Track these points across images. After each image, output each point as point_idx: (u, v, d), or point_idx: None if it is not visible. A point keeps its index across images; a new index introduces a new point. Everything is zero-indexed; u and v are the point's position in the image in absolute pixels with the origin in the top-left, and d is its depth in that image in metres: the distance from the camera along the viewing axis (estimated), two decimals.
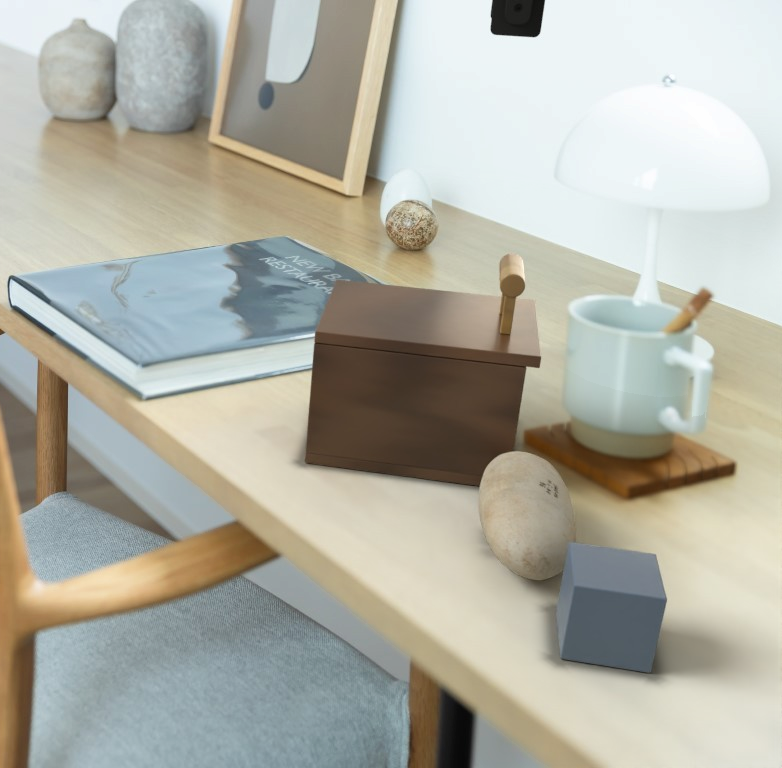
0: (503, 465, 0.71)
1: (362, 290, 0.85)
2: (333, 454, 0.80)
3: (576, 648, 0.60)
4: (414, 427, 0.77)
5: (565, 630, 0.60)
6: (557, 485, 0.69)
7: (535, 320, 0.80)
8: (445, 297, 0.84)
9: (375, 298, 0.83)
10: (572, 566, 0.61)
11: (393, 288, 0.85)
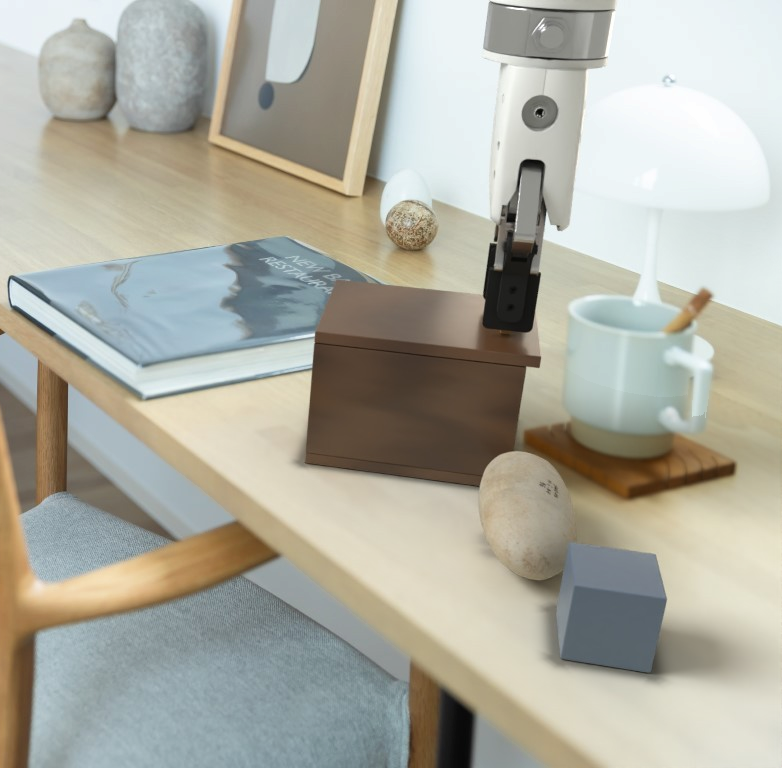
0: (503, 465, 0.71)
1: (362, 290, 0.85)
2: (333, 454, 0.80)
3: (576, 648, 0.60)
4: (414, 427, 0.77)
5: (565, 630, 0.60)
6: (557, 485, 0.69)
7: (535, 320, 0.80)
8: (445, 297, 0.84)
9: (375, 298, 0.83)
10: (572, 566, 0.61)
11: (393, 288, 0.85)
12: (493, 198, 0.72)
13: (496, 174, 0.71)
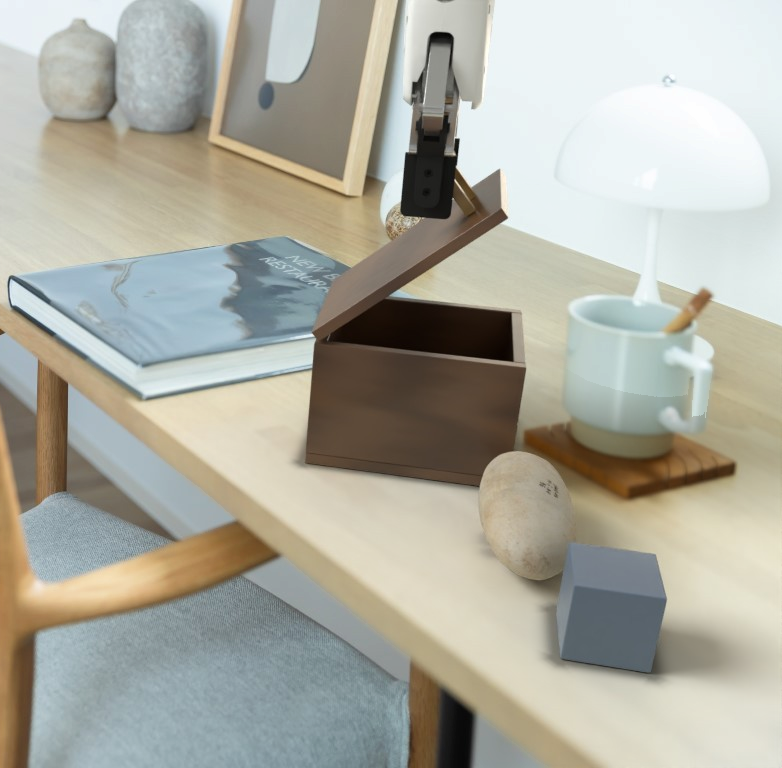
0: (503, 465, 0.71)
1: (353, 272, 0.84)
2: (333, 454, 0.80)
3: (576, 648, 0.60)
4: (414, 427, 0.77)
5: (565, 630, 0.60)
6: (557, 485, 0.69)
7: (498, 183, 0.77)
8: (422, 224, 0.82)
9: (363, 269, 0.83)
10: (572, 566, 0.61)
11: (378, 251, 0.84)
12: (403, 75, 0.70)
13: (405, 50, 0.70)
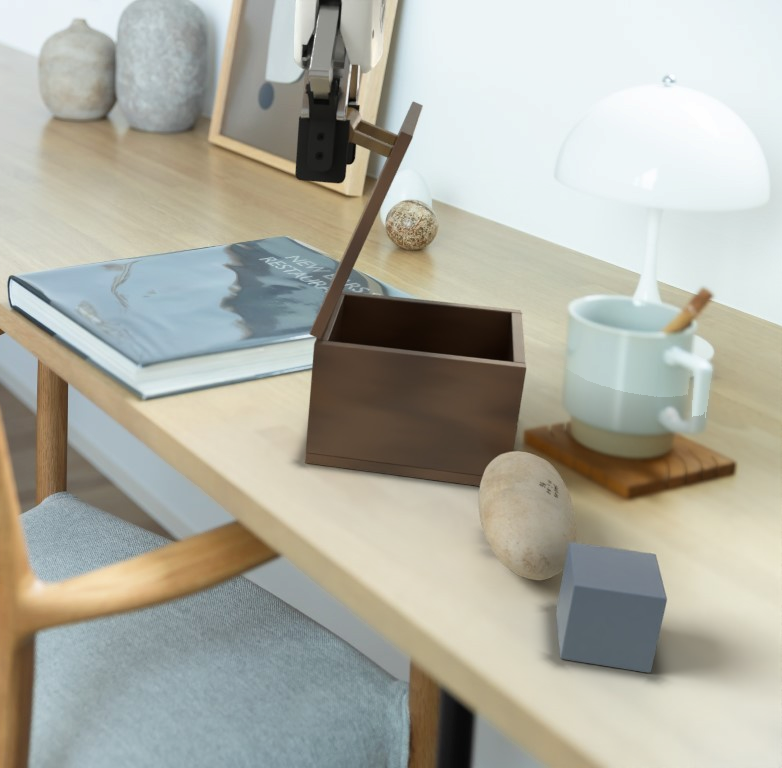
0: (503, 465, 0.71)
1: None
2: (333, 454, 0.80)
3: (576, 648, 0.60)
4: (414, 427, 0.77)
5: (565, 630, 0.60)
6: (557, 485, 0.69)
7: (407, 114, 0.77)
8: (373, 189, 0.82)
9: (342, 257, 0.83)
10: (572, 566, 0.61)
11: None
12: (294, 38, 0.71)
13: (295, 13, 0.70)
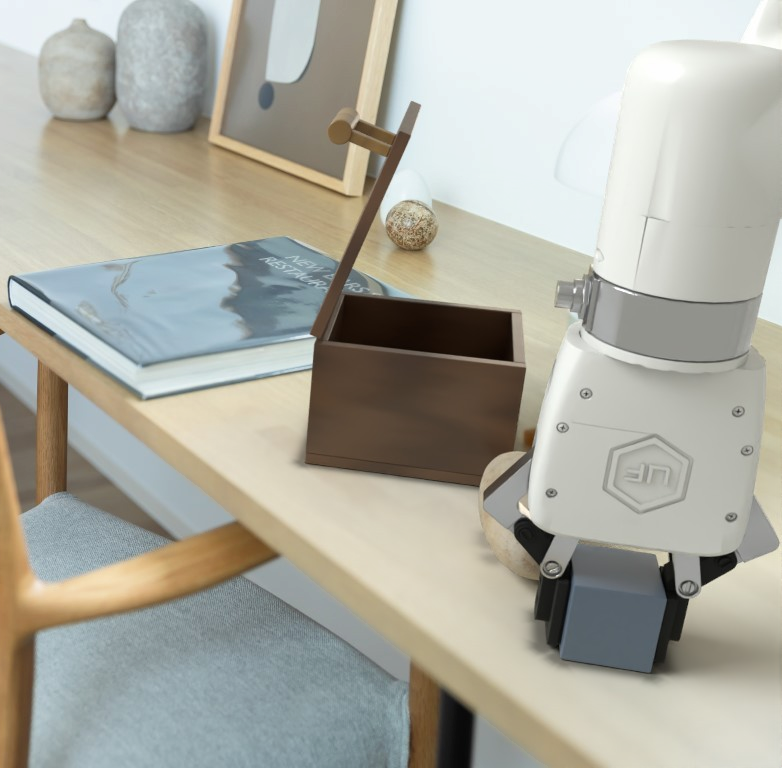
0: (503, 465, 0.71)
1: (339, 264, 0.84)
2: (333, 454, 0.80)
3: (576, 648, 0.60)
4: (414, 427, 0.77)
5: (565, 630, 0.60)
6: None
7: (405, 113, 0.77)
8: None
9: None
10: (572, 566, 0.61)
11: (352, 234, 0.84)
12: None
13: None
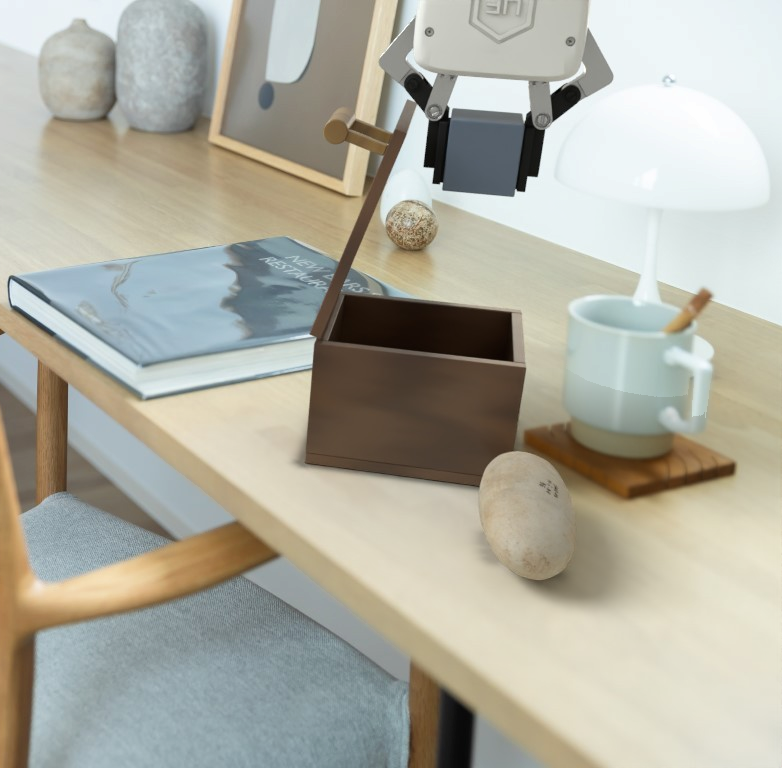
0: (503, 465, 0.71)
1: None
2: (333, 454, 0.80)
3: (454, 179, 0.74)
4: (414, 427, 0.77)
5: (445, 163, 0.74)
6: (557, 485, 0.69)
7: None
8: None
9: None
10: (452, 115, 0.74)
11: None
12: None
13: None
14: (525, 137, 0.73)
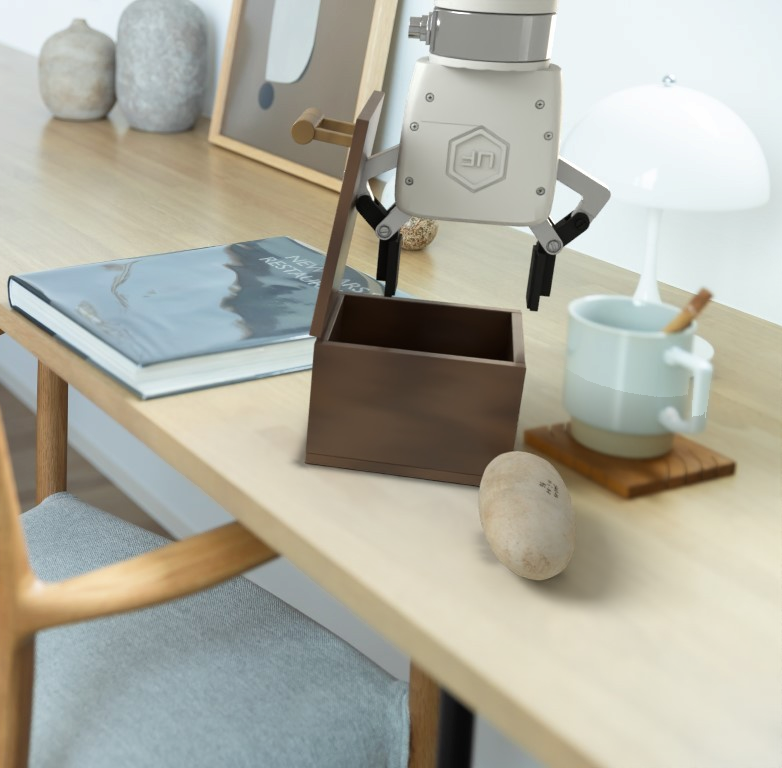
0: (503, 465, 0.71)
1: None
2: (333, 454, 0.80)
3: None
4: (414, 427, 0.77)
5: None
6: (557, 485, 0.69)
7: (367, 102, 0.77)
8: None
9: None
10: None
11: None
12: None
13: None
14: (537, 261, 0.77)
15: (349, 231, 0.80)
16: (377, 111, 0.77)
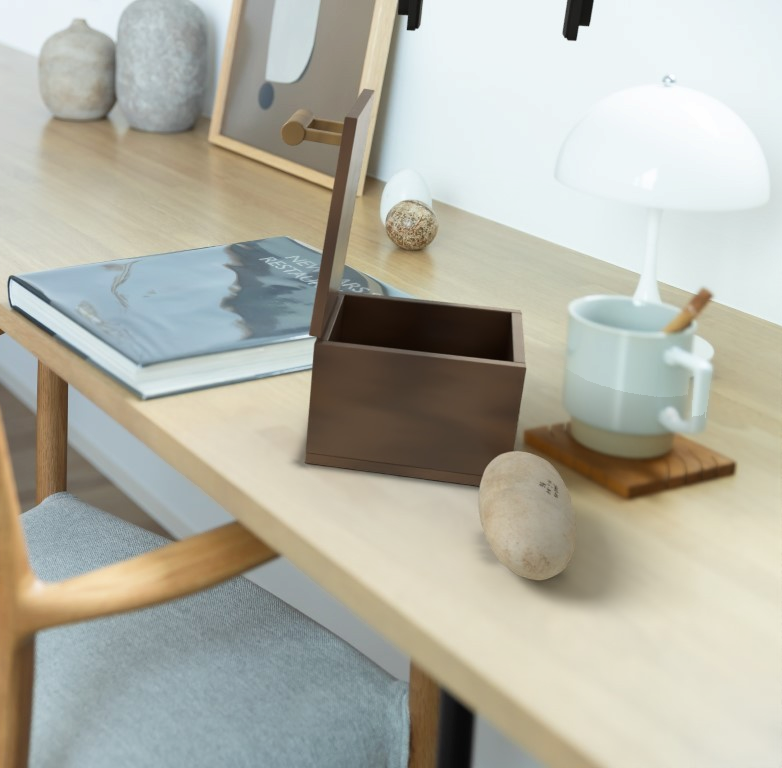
0: (503, 465, 0.71)
1: None
2: (333, 454, 0.80)
3: None
4: (414, 427, 0.77)
5: None
6: (557, 485, 0.69)
7: (356, 100, 0.77)
8: None
9: None
10: None
11: None
12: None
13: None
14: None
15: (345, 230, 0.80)
16: (367, 109, 0.77)
